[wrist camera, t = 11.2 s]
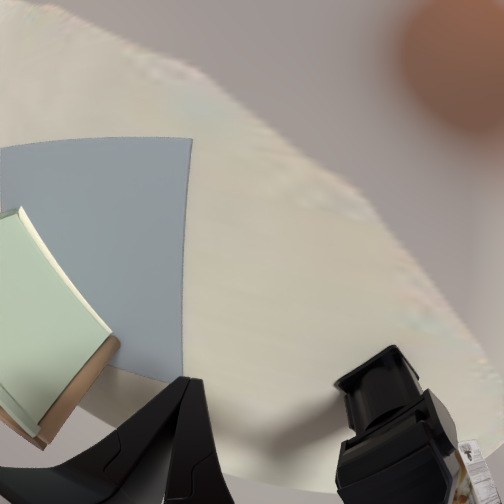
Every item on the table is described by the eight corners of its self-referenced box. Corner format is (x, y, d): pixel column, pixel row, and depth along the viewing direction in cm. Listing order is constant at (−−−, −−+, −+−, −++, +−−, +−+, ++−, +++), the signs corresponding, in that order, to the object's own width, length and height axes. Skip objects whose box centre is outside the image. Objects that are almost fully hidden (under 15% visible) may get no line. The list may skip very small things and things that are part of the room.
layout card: (192, 138, 18) (190, 138, 18) (183, 383, 26) (182, 387, 25) (3, 147, 20) (0, 148, 19) (25, 327, 27) (23, 329, 26)
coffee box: (444, 467, 31) (462, 529, 15) (422, 471, 31) (438, 539, 15) (476, 438, 27) (502, 504, 12) (455, 441, 28) (481, 515, 12)
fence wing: (14, 204, 21) (-87, 245, 8) (123, 343, 24) (49, 447, 11) (10, 215, 21) (-87, 257, 8) (116, 350, 25) (45, 448, 12)
